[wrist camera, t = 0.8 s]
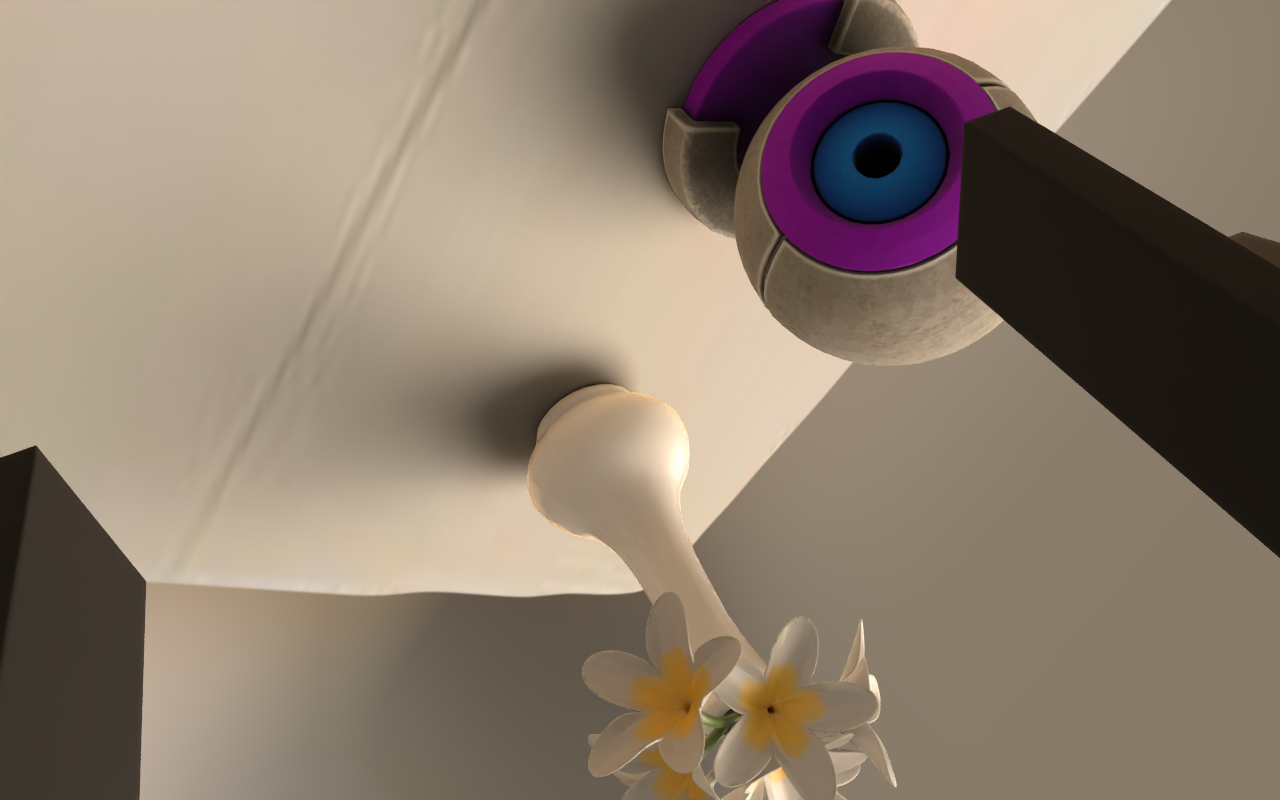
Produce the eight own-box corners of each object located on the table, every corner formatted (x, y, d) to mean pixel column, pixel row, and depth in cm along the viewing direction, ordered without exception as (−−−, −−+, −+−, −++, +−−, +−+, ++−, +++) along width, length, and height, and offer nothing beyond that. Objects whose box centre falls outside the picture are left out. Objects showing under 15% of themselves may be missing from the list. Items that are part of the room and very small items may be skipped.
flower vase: (529, 283, 47) (802, 749, 32) (742, 388, 61) (1004, 752, 46) (372, 465, 51) (549, 955, 36) (604, 526, 65) (804, 901, 50)
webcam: (862, -91, 41) (1122, 86, 32) (930, 112, 51) (1142, 289, 42) (615, 111, 43) (796, 333, 34) (728, 268, 53) (890, 471, 44)
